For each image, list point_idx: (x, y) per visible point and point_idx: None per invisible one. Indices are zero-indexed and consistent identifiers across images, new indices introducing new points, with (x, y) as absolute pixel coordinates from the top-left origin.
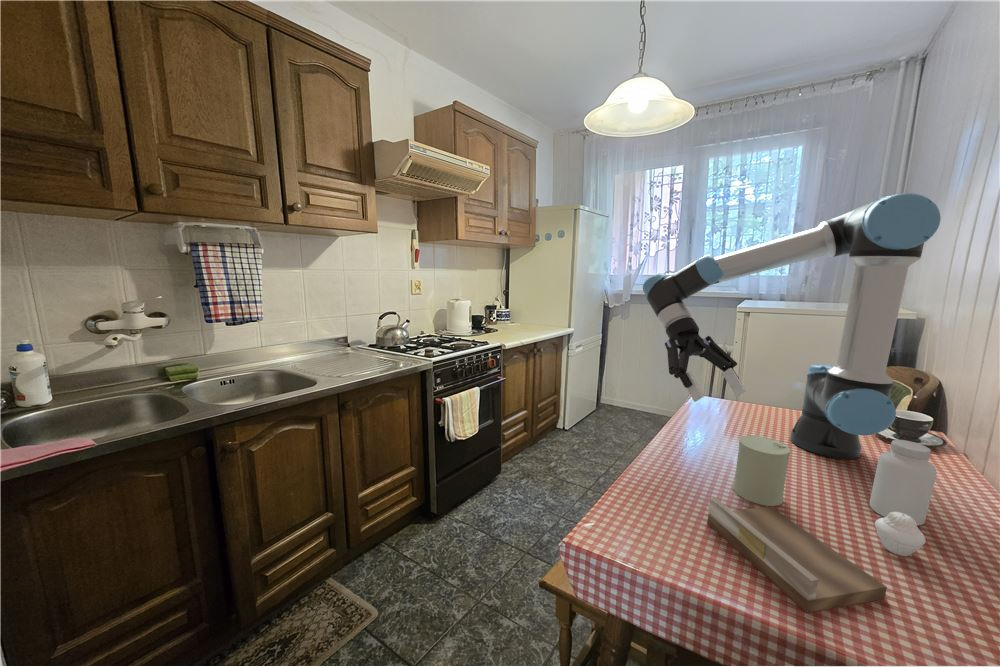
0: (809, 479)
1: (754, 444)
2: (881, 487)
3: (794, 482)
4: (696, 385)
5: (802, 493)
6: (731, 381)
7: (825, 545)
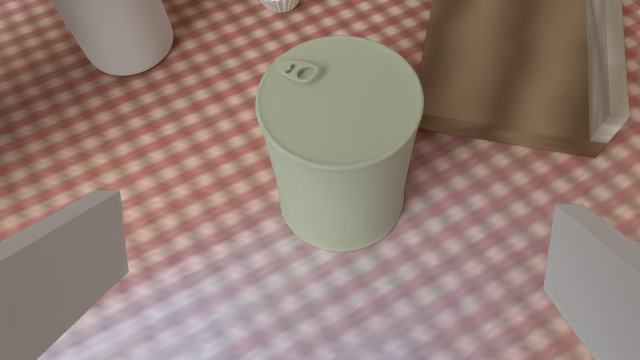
0: (113, 187)
1: (371, 110)
2: (145, 5)
3: (173, 192)
4: (622, 243)
5: (221, 153)
6: (55, 294)
7: (433, 11)
